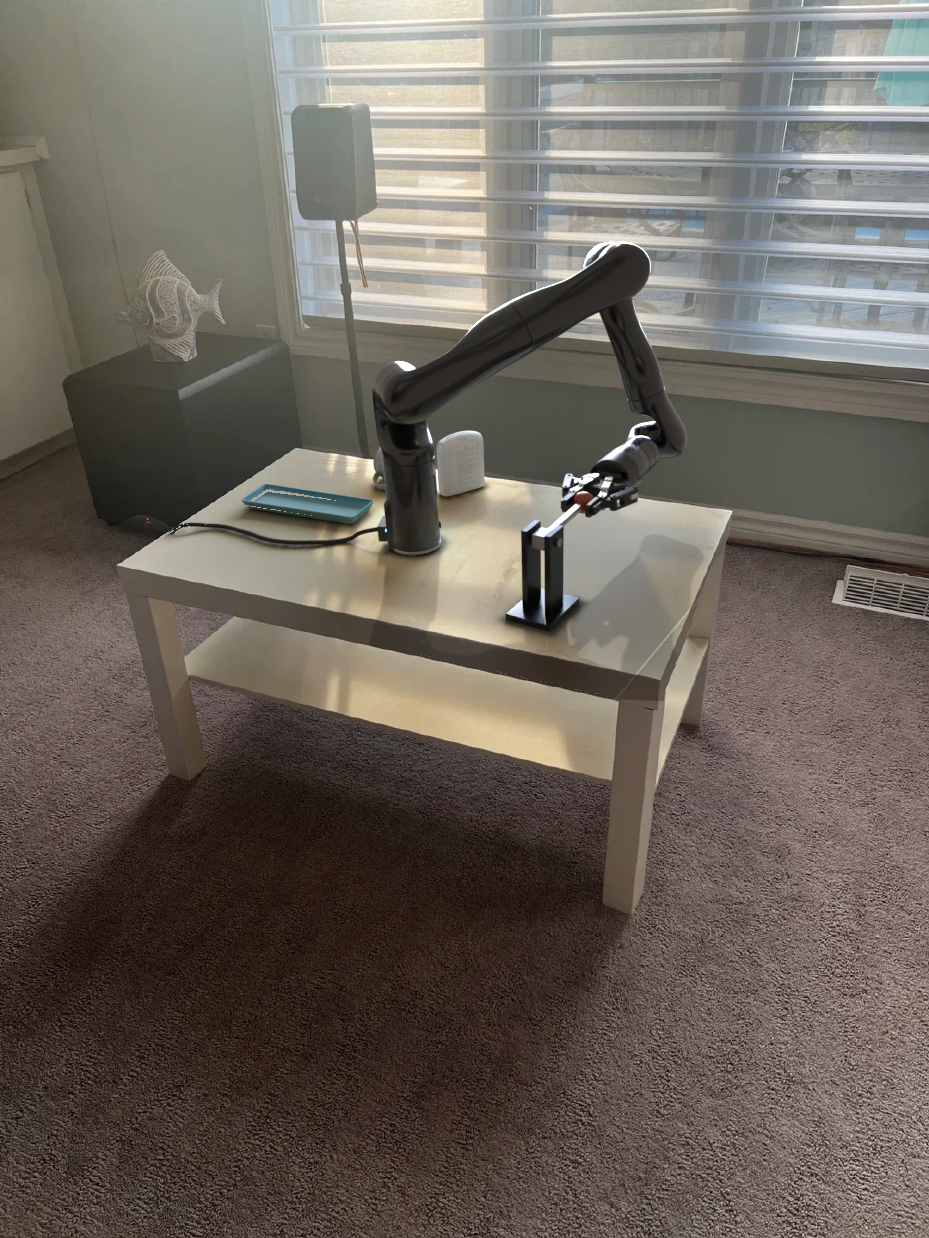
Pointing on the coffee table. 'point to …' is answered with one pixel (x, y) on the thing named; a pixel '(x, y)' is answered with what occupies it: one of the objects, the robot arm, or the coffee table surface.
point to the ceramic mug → (378, 469)
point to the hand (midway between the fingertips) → (575, 509)
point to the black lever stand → (536, 602)
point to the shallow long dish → (309, 504)
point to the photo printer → (460, 462)
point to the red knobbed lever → (562, 518)
